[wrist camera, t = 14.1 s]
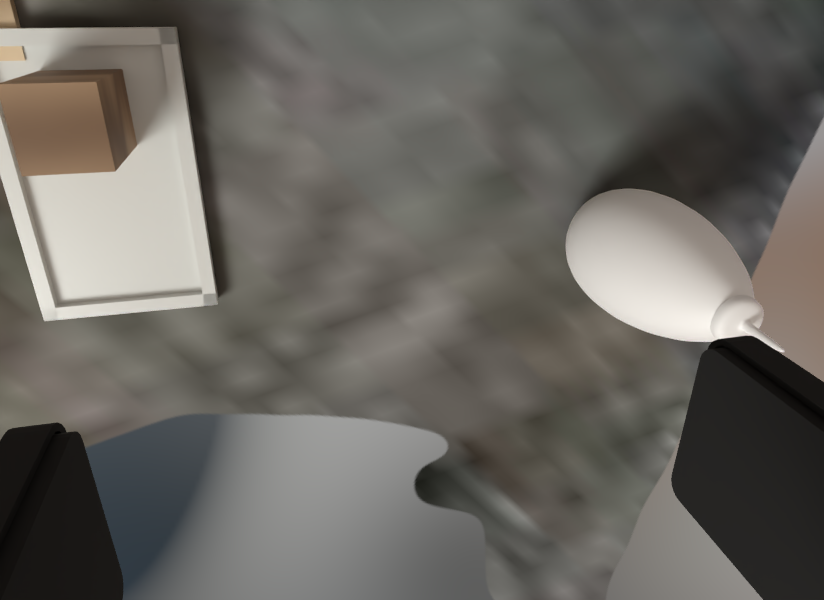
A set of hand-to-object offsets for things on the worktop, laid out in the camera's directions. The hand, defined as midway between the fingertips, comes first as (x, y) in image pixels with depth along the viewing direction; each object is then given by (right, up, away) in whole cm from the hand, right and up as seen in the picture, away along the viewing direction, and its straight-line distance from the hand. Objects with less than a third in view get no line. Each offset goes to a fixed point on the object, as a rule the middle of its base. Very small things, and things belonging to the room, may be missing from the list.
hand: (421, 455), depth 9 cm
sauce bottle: (+13, +8, +34) cm, 37 cm away
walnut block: (-17, +13, +23) cm, 32 cm away
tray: (-18, +9, +26) cm, 32 cm away
